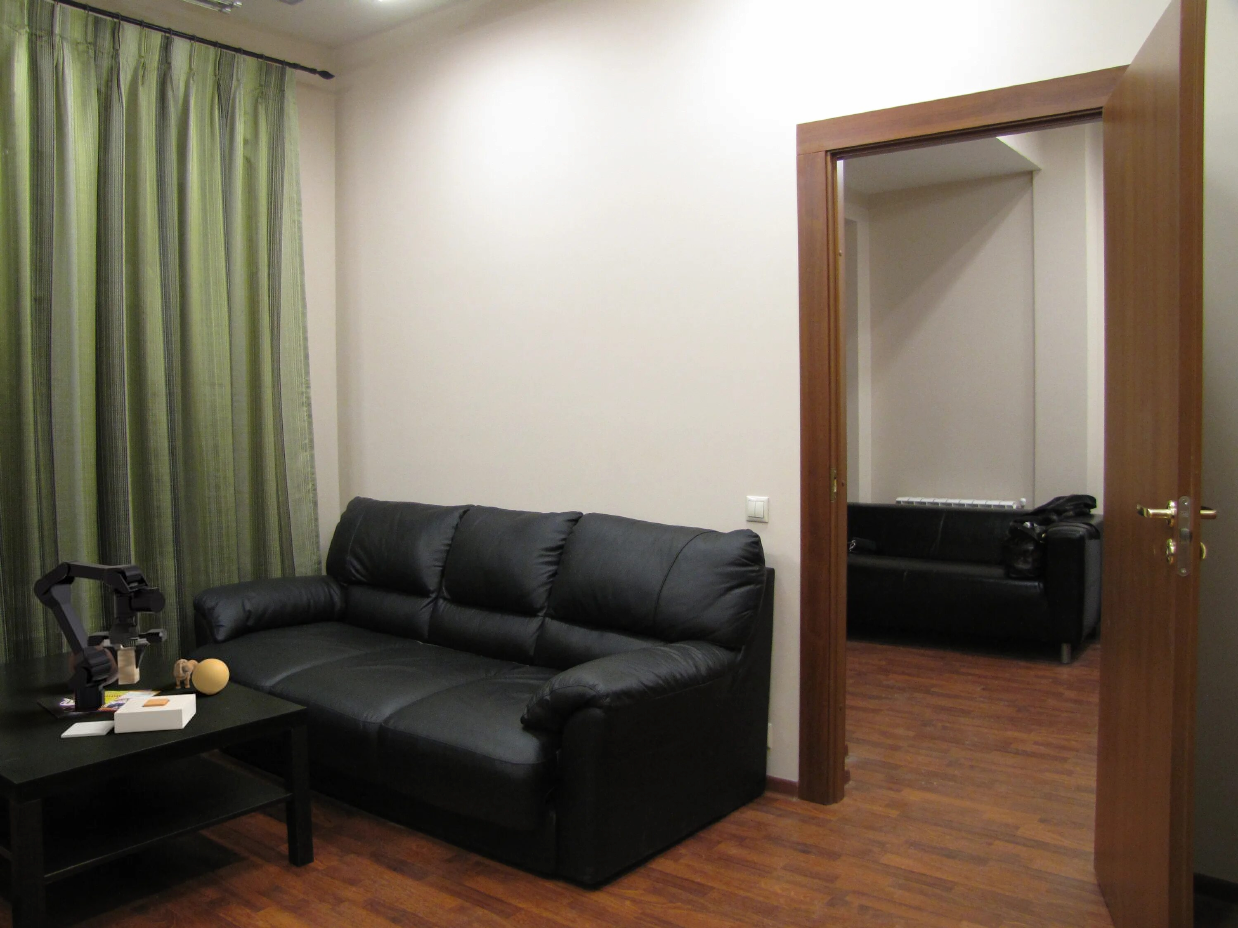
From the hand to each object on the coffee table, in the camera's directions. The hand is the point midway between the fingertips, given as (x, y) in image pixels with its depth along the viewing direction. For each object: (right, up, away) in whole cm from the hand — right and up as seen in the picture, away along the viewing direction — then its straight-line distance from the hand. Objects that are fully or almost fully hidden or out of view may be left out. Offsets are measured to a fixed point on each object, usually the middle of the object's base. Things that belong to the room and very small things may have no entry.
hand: (128, 668), depth 256 cm
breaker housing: (+12, -12, -9) cm, 19 cm away
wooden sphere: (-23, -11, +27) cm, 37 cm away
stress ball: (+15, -11, +18) cm, 26 cm away
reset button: (+12, -10, -9) cm, 18 cm away
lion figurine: (+4, -11, +27) cm, 29 cm away
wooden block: (0, -4, 0) cm, 4 cm away
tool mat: (-2, -12, -15) cm, 20 cm away
